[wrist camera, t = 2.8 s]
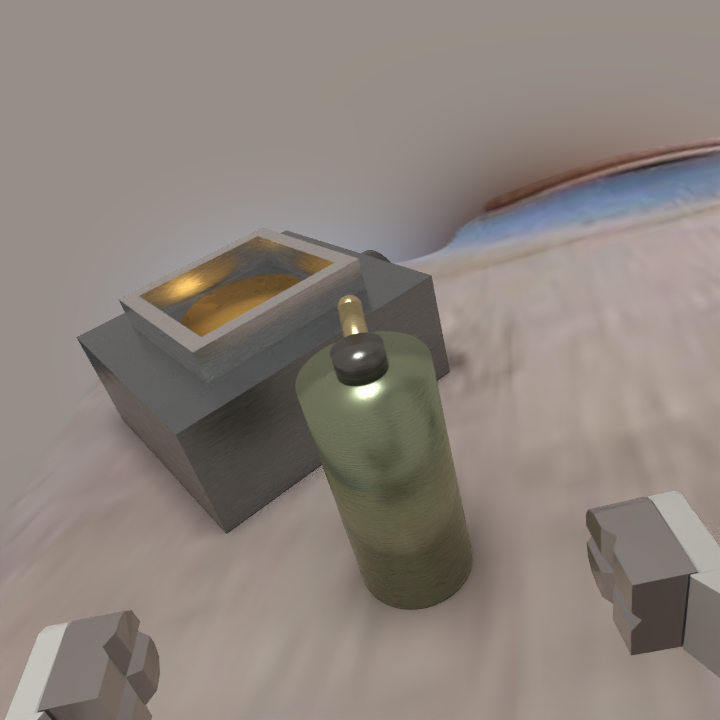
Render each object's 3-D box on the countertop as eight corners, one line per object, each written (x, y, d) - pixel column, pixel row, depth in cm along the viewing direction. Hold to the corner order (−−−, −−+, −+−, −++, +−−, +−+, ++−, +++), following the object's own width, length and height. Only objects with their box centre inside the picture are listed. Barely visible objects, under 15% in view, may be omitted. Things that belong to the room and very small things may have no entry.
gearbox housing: (329, 297, 54) (299, 195, 49) (470, 356, 42) (450, 230, 37) (122, 419, 45) (61, 311, 41) (226, 533, 34) (158, 401, 29)
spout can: (485, 594, 27) (437, 356, 21) (367, 620, 28) (281, 394, 21) (454, 492, 32) (408, 275, 26) (355, 516, 33) (284, 306, 26)
